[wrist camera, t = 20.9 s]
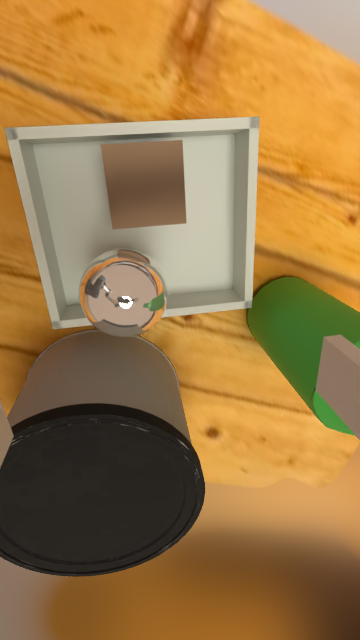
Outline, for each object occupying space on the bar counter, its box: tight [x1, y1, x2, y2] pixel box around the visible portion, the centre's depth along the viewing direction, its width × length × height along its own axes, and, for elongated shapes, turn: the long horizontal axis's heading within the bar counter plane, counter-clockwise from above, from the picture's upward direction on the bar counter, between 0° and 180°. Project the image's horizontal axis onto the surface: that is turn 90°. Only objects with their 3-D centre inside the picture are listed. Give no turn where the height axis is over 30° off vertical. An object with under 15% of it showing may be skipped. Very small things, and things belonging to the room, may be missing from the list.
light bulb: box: [79, 248, 168, 337], centre depth 28 cm, size 7×7×12 cm
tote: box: [4, 117, 259, 329], centre depth 30 cm, size 20×17×4 cm
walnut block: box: [101, 140, 187, 229], centre depth 28 cm, size 6×6×6 cm
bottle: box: [248, 277, 360, 436], centre depth 27 cm, size 9×9×25 cm
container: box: [0, 329, 205, 576], centre depth 33 cm, size 19×19×15 cm
